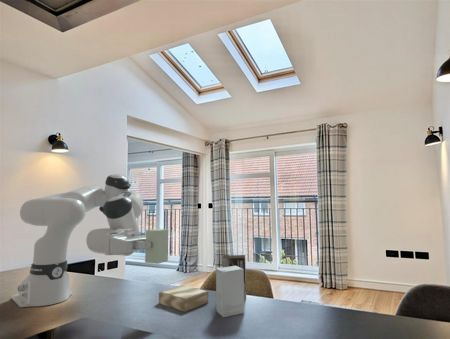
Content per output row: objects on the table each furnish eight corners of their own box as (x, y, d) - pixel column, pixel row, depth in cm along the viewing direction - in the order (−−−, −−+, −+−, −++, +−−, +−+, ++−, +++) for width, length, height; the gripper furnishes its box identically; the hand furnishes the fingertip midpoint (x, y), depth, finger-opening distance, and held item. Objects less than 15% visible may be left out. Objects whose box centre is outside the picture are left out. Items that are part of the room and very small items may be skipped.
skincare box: (236, 308, 104) (236, 265, 106) (245, 314, 99) (244, 268, 100) (215, 312, 101) (215, 267, 102) (222, 318, 95) (222, 270, 97)
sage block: (145, 262, 92) (146, 230, 94) (155, 260, 97) (156, 229, 98) (157, 263, 90) (158, 230, 92) (167, 261, 95) (168, 229, 96)
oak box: (158, 304, 109) (158, 291, 110) (182, 296, 119) (182, 284, 119) (185, 312, 101) (185, 299, 101) (208, 303, 110) (208, 291, 111)
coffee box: (246, 296, 118) (246, 254, 120) (245, 301, 111) (245, 257, 113) (223, 295, 119) (223, 254, 121) (221, 300, 112) (221, 257, 114)
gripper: (145, 247, 109) (176, 249, 103) (100, 255, 91) (135, 258, 85) (146, 230, 110) (176, 231, 104) (101, 235, 91) (136, 236, 86)
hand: (157, 243), depth 94 cm, fingers closed on sage block, 5 cm apart
